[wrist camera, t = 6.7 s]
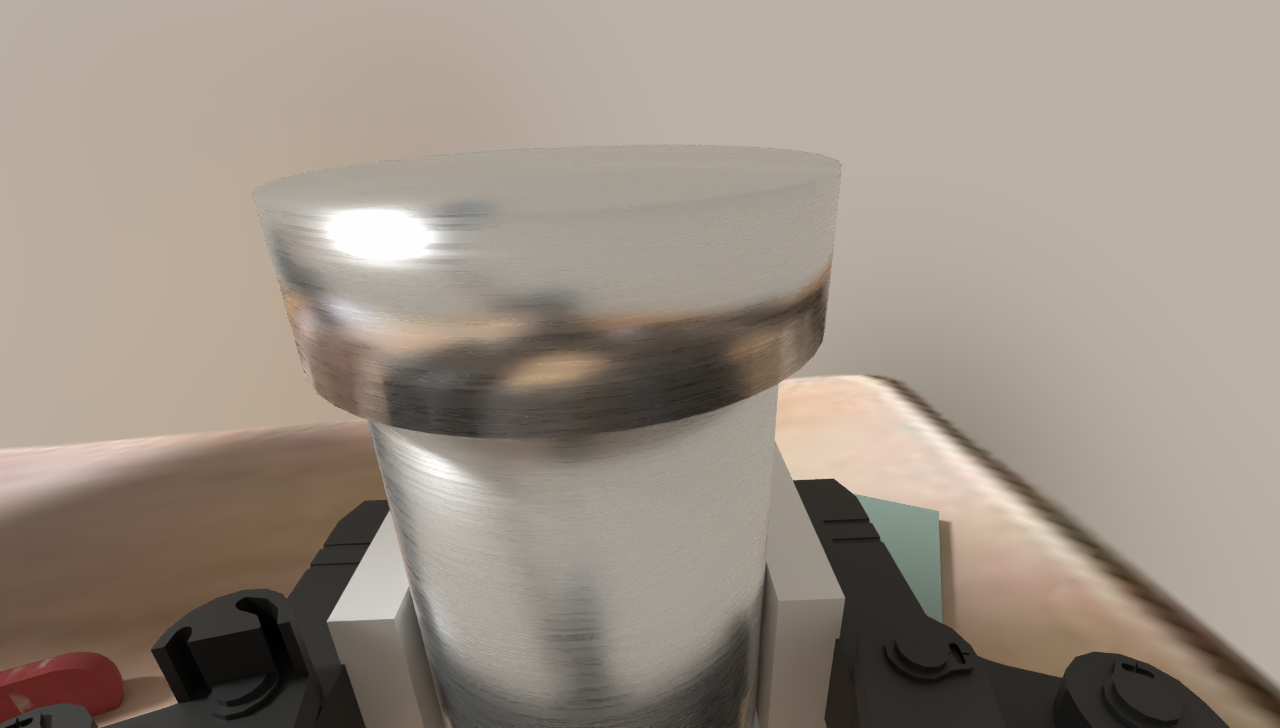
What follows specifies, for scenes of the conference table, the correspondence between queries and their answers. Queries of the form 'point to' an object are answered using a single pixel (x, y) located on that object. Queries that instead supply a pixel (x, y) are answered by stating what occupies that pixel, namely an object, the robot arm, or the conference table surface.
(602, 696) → the steel pin
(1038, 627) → the conference table surface
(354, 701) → the robot arm
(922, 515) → the rubber mat
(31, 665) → the pliers
